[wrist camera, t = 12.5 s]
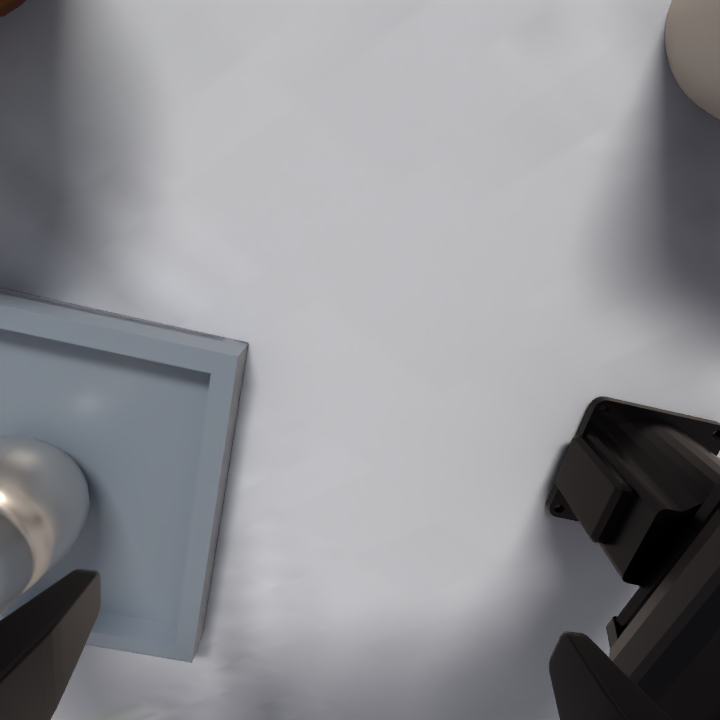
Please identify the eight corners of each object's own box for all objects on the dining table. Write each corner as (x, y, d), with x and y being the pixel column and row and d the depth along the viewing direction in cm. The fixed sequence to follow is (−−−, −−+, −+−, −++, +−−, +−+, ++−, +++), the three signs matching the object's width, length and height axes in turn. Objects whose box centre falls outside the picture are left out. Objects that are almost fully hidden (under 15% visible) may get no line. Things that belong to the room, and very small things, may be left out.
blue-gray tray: (248, 342, 21) (238, 356, 19) (202, 632, 27) (191, 662, 25) (-179, 248, 20) (-230, 254, 18) (-125, 575, 26) (-160, 602, 24)
